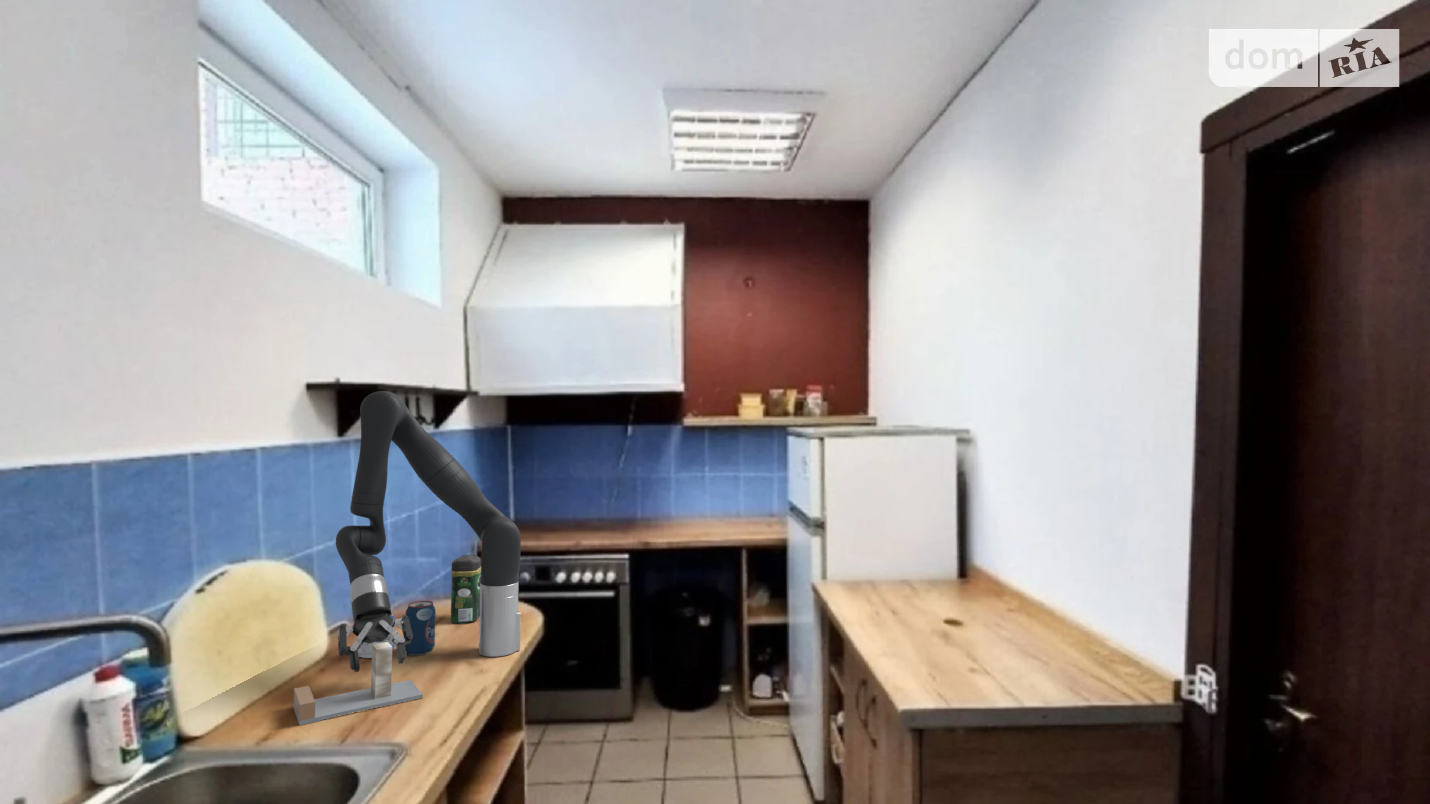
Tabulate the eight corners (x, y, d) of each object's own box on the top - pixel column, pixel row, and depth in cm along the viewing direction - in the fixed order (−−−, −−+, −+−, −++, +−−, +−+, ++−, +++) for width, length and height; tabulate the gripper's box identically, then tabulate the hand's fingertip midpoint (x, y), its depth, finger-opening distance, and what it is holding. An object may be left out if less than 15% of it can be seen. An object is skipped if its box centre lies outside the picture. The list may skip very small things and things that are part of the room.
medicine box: (372, 659, 164) (374, 623, 165) (356, 658, 165) (357, 622, 165) (394, 649, 172) (395, 614, 172) (379, 647, 173) (380, 613, 173)
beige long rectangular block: (386, 689, 143) (387, 641, 144) (390, 695, 140) (392, 646, 141) (370, 692, 142) (372, 644, 142) (375, 699, 138) (376, 649, 139)
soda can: (433, 654, 168) (434, 605, 168) (403, 657, 166) (404, 608, 166) (435, 646, 174) (436, 599, 175) (405, 648, 172) (407, 601, 173)
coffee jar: (454, 615, 203) (456, 553, 203) (482, 614, 204) (483, 552, 205) (447, 625, 193) (448, 559, 194) (476, 624, 194) (477, 558, 195)
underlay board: (410, 683, 149) (411, 665, 149) (422, 698, 141) (423, 679, 141) (293, 707, 136) (294, 688, 136) (299, 725, 128) (300, 704, 128)
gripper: (336, 594, 146) (344, 663, 136) (407, 585, 155) (419, 650, 145) (331, 614, 150) (339, 682, 140) (400, 604, 159) (412, 668, 149)
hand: (379, 666), depth 143 cm, fingers open, 8 cm apart
